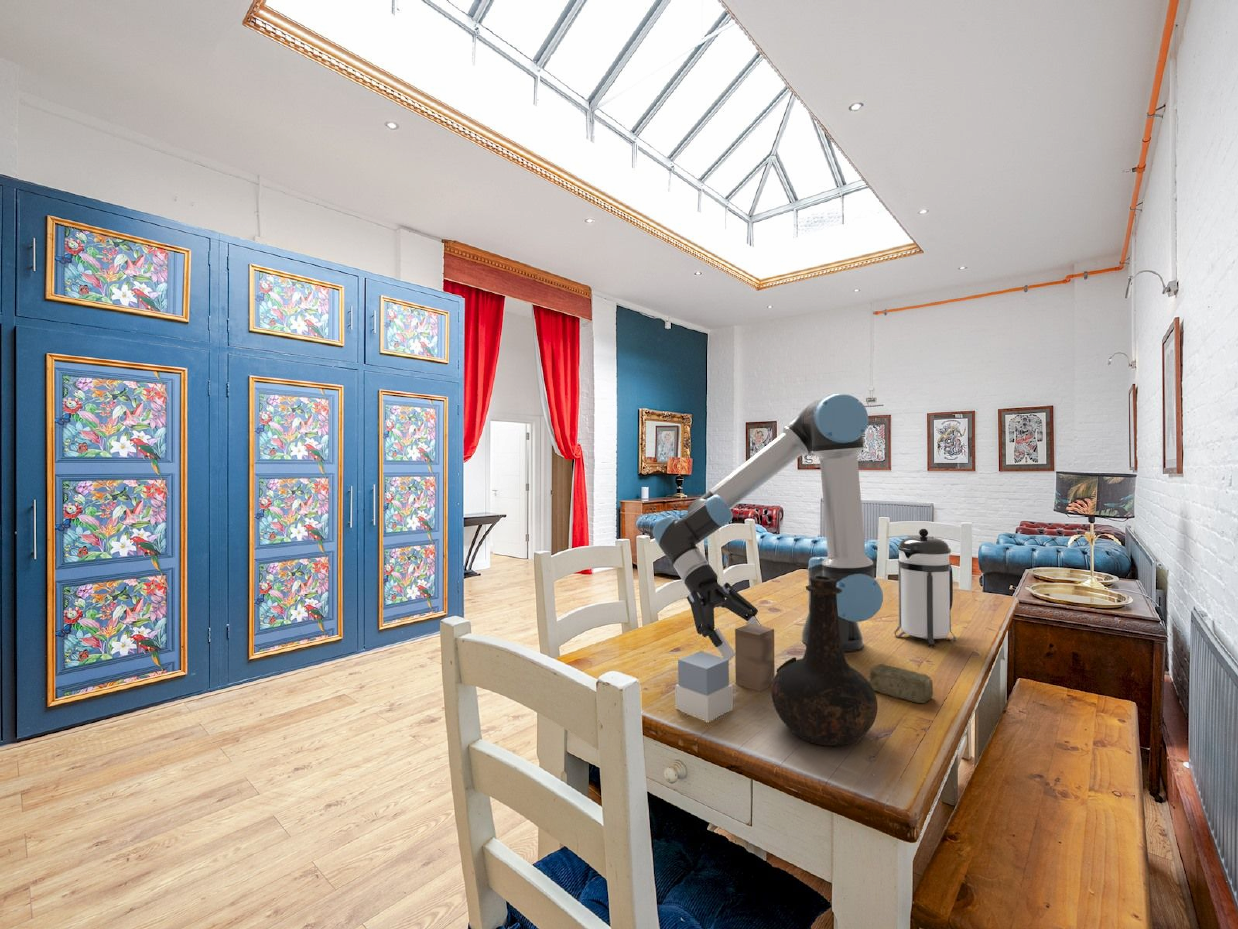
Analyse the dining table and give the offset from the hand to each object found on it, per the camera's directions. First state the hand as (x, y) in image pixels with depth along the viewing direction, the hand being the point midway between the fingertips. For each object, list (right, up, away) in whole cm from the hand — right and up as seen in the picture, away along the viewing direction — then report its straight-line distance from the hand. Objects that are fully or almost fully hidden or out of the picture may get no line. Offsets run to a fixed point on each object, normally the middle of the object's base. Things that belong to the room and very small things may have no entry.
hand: (749, 651), depth 124 cm
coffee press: (+56, -7, +31) cm, 64 cm away
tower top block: (-12, -2, -13) cm, 18 cm away
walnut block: (+1, -7, 0) cm, 7 cm away
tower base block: (-12, -7, -13) cm, 19 cm away
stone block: (+30, -7, -6) cm, 31 cm away
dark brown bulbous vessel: (+8, -7, -23) cm, 25 cm away
